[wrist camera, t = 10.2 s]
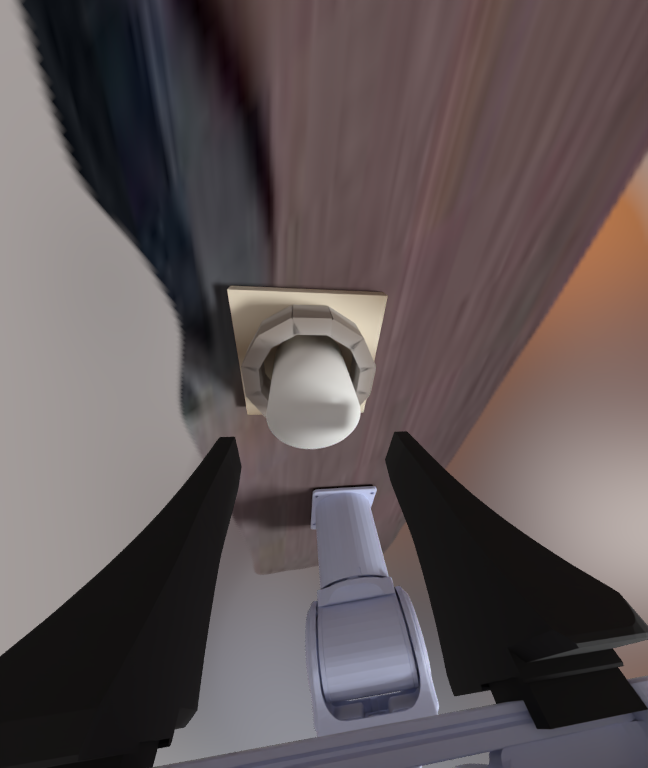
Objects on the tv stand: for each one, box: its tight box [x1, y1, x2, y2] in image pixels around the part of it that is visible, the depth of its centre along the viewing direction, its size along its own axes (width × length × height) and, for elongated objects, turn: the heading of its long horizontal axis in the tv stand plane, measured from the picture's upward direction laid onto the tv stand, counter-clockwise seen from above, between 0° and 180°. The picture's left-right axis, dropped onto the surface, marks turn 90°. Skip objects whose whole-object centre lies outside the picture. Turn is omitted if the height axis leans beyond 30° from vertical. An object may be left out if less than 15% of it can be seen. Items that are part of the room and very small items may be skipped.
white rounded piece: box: [266, 335, 361, 449], centre depth 15 cm, size 5×5×6 cm
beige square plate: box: [227, 286, 388, 417], centre depth 17 cm, size 10×10×4 cm
